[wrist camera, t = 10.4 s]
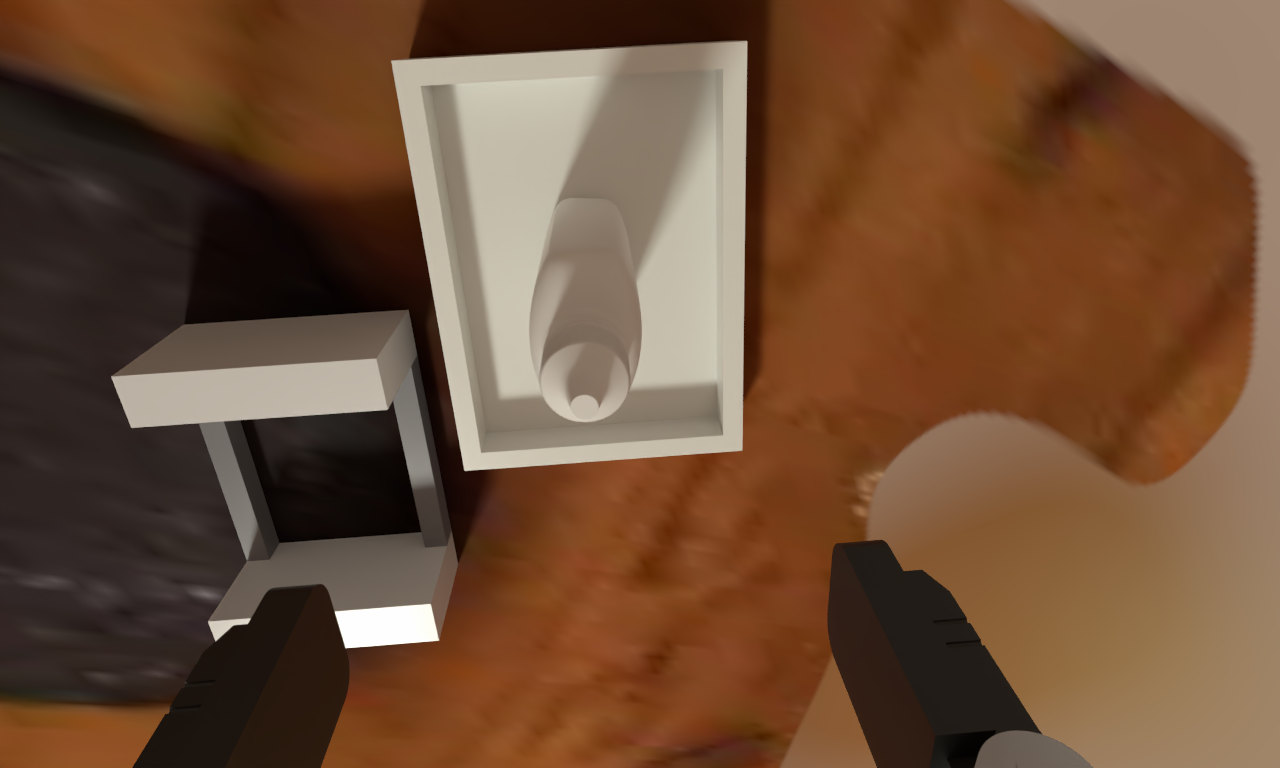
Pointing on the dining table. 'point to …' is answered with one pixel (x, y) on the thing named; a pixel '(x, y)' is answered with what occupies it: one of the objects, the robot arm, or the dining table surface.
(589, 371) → the eye dropper bottle
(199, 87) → the dining table surface
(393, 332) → the holder
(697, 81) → the tray
